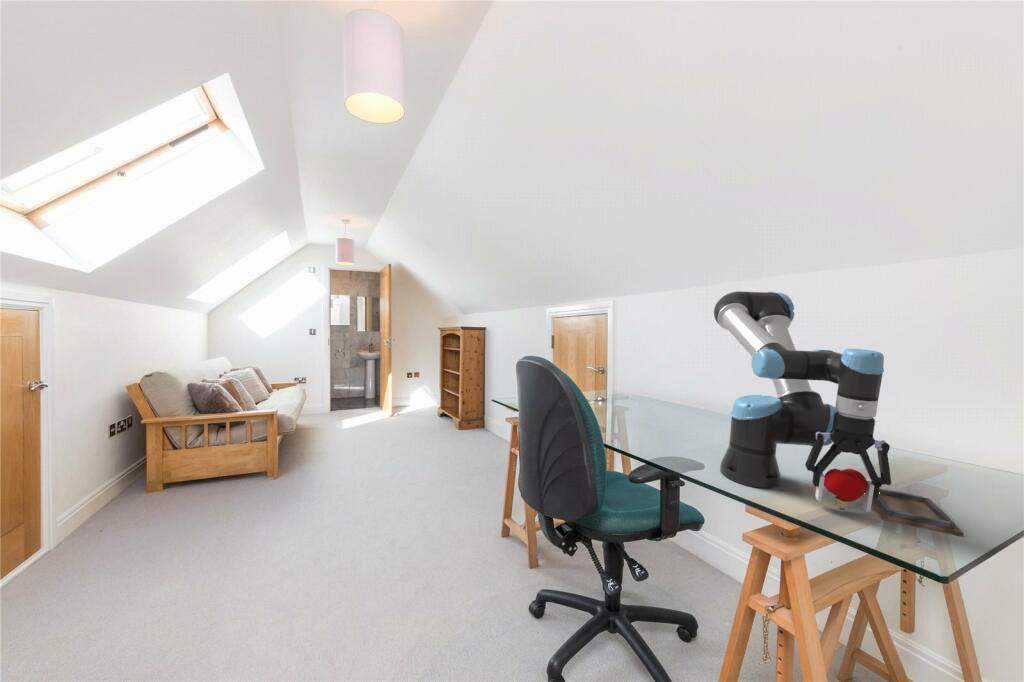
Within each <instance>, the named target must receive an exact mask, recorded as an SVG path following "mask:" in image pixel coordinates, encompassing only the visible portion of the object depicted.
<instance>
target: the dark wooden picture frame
mask: <svg viewBox="0 0 1024 682" xmlns="http://www.w3.org/2000/svg"><path fill="white" fill-rule="evenodd" d="M879 492H880V494H878V497H877V498H872V505H871V507H872V508H873V509H874V510H875V511H876V513H877V514H878V515H879V517H880V518H881V520H884V521H887V522H893V523H897V524H901V525H902V524H903V525H907V526H912V527H916V528H921V529H927V530H932V531H935V532H940V533H945V534H949V535H950V534H951V535H955V536H959V537H965V532H964V531H963V530H962V529H961V528H960V527H959V526H958V525H957V524H956V523H955V521H953V520H952V518H950V516H948V515H947V514H946V513H945V512H944V511H943V510H942V509H941V508H940V507H939V506H938V505H937V504H936V503H934V501H933V500H932V499H930V498H929V497H924V496H923V495H917V494H911V493H906V492H902V491H901V492H900V491H897V490H889V489H885V488H881V487H879Z"/></svg>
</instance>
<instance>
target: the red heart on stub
mask: <svg viewBox="0 0 1024 682" xmlns="http://www.w3.org/2000/svg"><path fill="white" fill-rule="evenodd" d="M824 476H825V479H824V487H825V489H826V490H827V491H828V492H829V493H830V494H832V495H833V496H835V501H834V505H835V506H836V507H837V508H838V509H839V510H840V511H844V510H848V509H849V508H850V507H849V506H850V502H851V503H852V502H856V501H857V500H859V499H860V498H861V497H863V496H864V493H865V492H866V490H867V481H868V480H867V478H866V476H864V475H863V474H862V472H860V471H859V470H856V469H852V468H845V469H841V470H840V469H837V468H832V469H829V470H828V471H827V472H826V473H825V474H824Z"/></svg>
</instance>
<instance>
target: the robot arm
mask: <svg viewBox="0 0 1024 682" xmlns="http://www.w3.org/2000/svg"><path fill="white" fill-rule="evenodd" d="M794 310H795V305H794V303H793V301H792V299H791V298H790V296H789V295H787V294H785V293H782V292H776V291H767V292H765V291H762V292H761V291H760V292H759V291H740V290H739V291H738V290H737V291H731V292H729V293H726V294H724V296H722V297H720V298H719V300H718V301H717V302H716V304H715V306H714V309H713V316H714V320H715V321H716V323H717V324H718V325H719V326H720V327H721V329H723V330H727V331H729V333H730V334H731V335H732V336H733V337H734V338H735V340H737V341H738V343H739V344H740V345H741V346H742V347H743V348H744V349H745V350H746V352H748V354H749V355H751V363H750V364H751V368H752V372H753V374H754V375H755V376H757V377H759V378H765V379H770V380H771V381H772V383H773V386H774V388H775V392H776V394H777V397H776V396H771V395H762V394H750V395H749V394H747V395H742V396H739V397H738V398H736V399H735V400H734V401H733V404H732V405H733V406H732V409H731V410H732V411H731V412H730V413H731V414H730V415H731V422H730V431H729V432H730V433H729V443H728V447H727V449H726V451H725V453H724V455H723V458H722V459H721V460H720V467H719V472H720V473H721V474H722V475H723V476H724V477H726V478H727V479H730V480H731V481H733V482H736V483H737V484H742V485H745V486H748V487H754V488H759V489H760V488H762V489H767V488H769V489H771V488H776V487H778V486H779V485H780V484H781V472H780V468H779V464H778V460H777V456H776V453H777V445H778V444H780V445H795V446H810V447H811V449H810V452H809V454H808V457H807V460H806V461H805V464H804V465H805V466H804V467H805V468H806V470H807V471H809V472H811V473H812V479H811V480H812V481H811V483H812V484H813V486H814V487H816V488H815V495H814V496H815V499H816V501H818V502H822V501H823V500H822V499H823V492H824V487H825V485H824V479H825V474H824V473H823V472H824V471H825V470H826V469H828V467H829V466H830V465H831V464H832V462H833V461H834V460H835V459H836V458H837V457H838V456H839V455H840V454H841V453H847V454H848V453H850V454H853V455H859V457H860V459H861V462H862V463H863V465H864V467H865V468H864V469H865V470H866V472H867V474H868V476H869V478H870V480H871V481H870V480H866V481H867V490H866V492H865V494H863V503H862V507H863V509H864V510H865V511H866V512H869V513H871V511H872V498H877V497H878V494H879V488H882V486H883V485H884V486H885V485H887V486H891V485H892V479H891V470H890V464H889V457H888V456H889V451H890V447H891V445H890V444H889V443H888V442H886V441H885V440H882V439H881V440H877V439H875V438H874V432H875V426H876V419H875V417H876V416H877V411H878V405H879V404H878V403H879V398H880V393H881V392H880V391H881V385H882V380H883V374H884V371H885V368H884V364H885V363H884V362H885V356H884V354H883V353H882V352H880V351H878V350H877V351H876V350H870V349H864V348H862V349H861V348H846V349H844V350H843V351H842V353H840V352H836V351H833V350H829V349H828V350H827V349H815V350H813V351H812V350H797V349H796V347H795V344H794V342H793V339H792V337H791V334H790V331H789V328H790V326H791V325H792V324H791V323H792V322H793V320H794V317H795V312H794ZM809 381H823V382H830V383H834V384H837V391H836V392H837V394H836V400H835V406H834V405H831V404H829V403H824V401H823V399H822V396H821V394H820V393H819V392H817V391H815V390H812V387H811V386H810V383H809ZM829 445H831V446H830V447H829V449H828V451H826V452H825V453H824V455H823V456H822V457H821V459H820V460H819V461H818V458H819V456H820V453H821V451H822V449H823V448H824V447H825V446H829ZM872 446H874V448H875V449H876V450H877V451H876V452H877V458H878V459H877V460H878V466H879V467H878V468H879V474H880V476H879V475H878V474H877V472H876V469H875V468H874V465H873V463H872V461H871V458H870V455H869V453H868V452H867V451H868V450H869V449H870V448H871V447H872ZM817 461H818V462H817ZM878 476H879V477H878Z"/></svg>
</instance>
